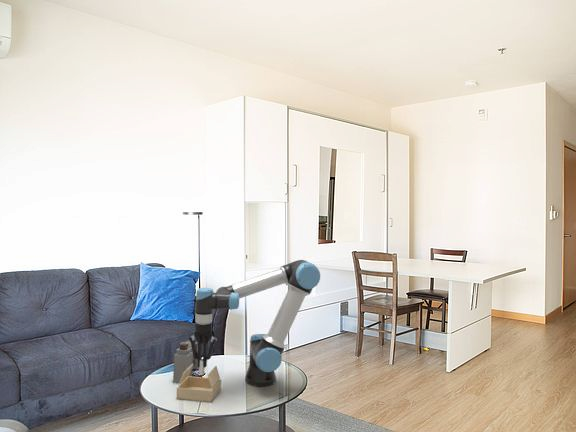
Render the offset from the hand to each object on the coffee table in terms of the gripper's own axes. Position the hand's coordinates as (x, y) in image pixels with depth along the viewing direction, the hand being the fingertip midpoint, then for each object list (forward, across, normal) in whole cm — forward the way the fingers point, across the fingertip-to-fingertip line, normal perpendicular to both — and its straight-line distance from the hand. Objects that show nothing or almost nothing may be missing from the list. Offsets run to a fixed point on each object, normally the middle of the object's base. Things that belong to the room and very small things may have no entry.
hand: (201, 374), depth 216 cm
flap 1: (+1, +7, 0) cm, 7 cm away
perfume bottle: (+10, +14, -14) cm, 22 cm away
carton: (+9, +1, 0) cm, 9 cm away
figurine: (+10, +17, -31) cm, 37 cm away
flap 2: (+1, -6, 0) cm, 6 cm away
